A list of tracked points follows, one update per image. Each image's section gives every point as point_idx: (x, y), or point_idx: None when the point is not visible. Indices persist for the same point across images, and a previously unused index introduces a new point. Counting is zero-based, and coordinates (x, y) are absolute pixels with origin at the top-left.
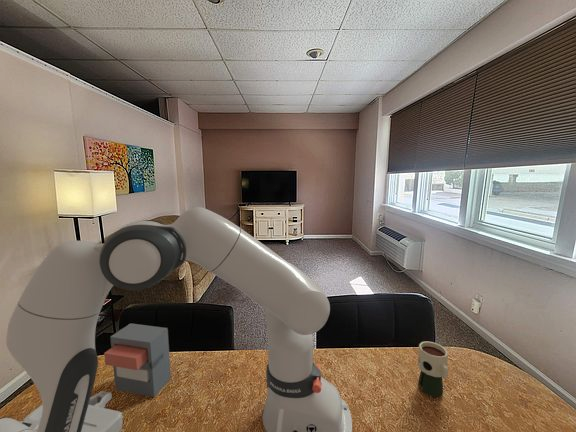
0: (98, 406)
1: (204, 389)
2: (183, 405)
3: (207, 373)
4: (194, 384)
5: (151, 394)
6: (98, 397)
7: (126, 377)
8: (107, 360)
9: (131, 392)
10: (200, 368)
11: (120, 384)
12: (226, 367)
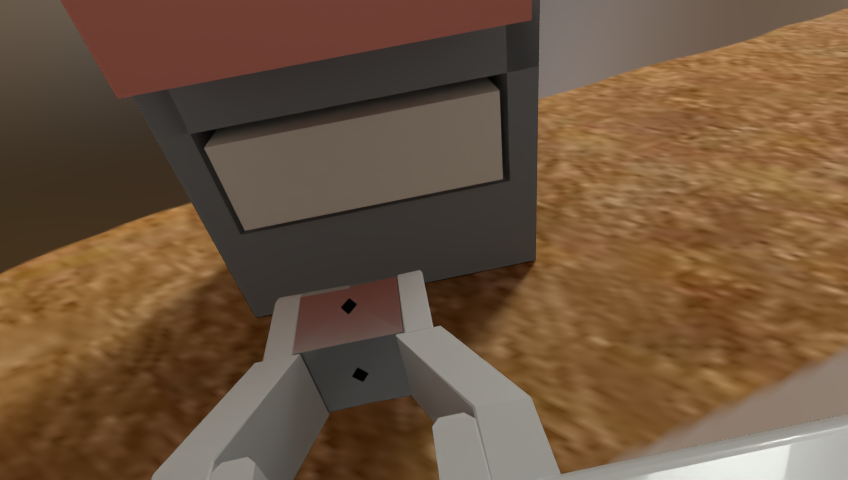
0: (536, 452)
1: (713, 160)
2: (746, 228)
3: (621, 130)
4: (637, 165)
5: (517, 252)
6: (325, 360)
7: (325, 210)
8: (121, 26)
9: None
10: (564, 131)
11: (283, 276)
12: (657, 100)
